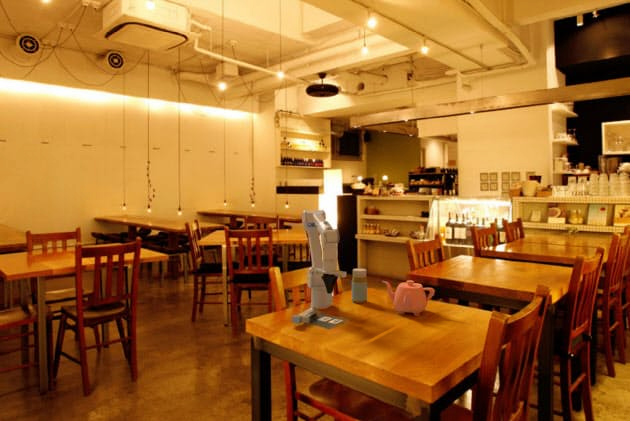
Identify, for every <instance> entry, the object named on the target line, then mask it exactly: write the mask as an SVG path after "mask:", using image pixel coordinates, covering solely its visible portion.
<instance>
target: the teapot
mask: <svg viewBox="0 0 630 421" xmlns="http://www.w3.org/2000/svg"><path fill="white" fill-rule="evenodd" d="M381 282H382V283H383V284H384V285H385V286H386V289H387V294H388V297H389V299H390V300H391V301H392V303H393V306H394V309H395V310H396V311H398V312H397V314H398V315H405V313H413V316H415V317H420V316H421V313H422V312H424V311H425V309H426V308H427V306H428V301H430V300H431V299H432V297H433V296H434V295H435V292H436V290H435V289H434V288H433V287H424V286H423V285H422V284H421V283H417V282H415V281H414V280H411V279H409V280H406V282H401V283H399V284H398V286H397V288H396V290H395V292H394V291H393V289H392V286H391V284H390V282H389V281H384V280H381ZM426 291H428V292H429V294H428V296H427V294H426Z"/></svg>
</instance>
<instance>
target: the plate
mask: <svg viewBox="0 0 630 421" xmlns="http://www.w3.org/2000/svg"><path fill="white" fill-rule="evenodd" d="M323 317H329V318H332V319H331V320H329V321H332V320H334V319H338V320H343V322H340V323H338V324H336V325H335V324H331V323H328V322H329V321H326V322H323V321H318V319H320V318H323ZM349 321H350V319H348V318H343V317H339V316H336V315H332V314H326V313H321V312H317V316H309V317H307V318H306V319H304V320H302V324H303V323H304V324H308V325H312V326H314V327H315V326H316V327H320V328H324V329H327V330H330V329H333V328H335V327H337V326H339V325H342V324H344V323H347V322H349Z"/></svg>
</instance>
